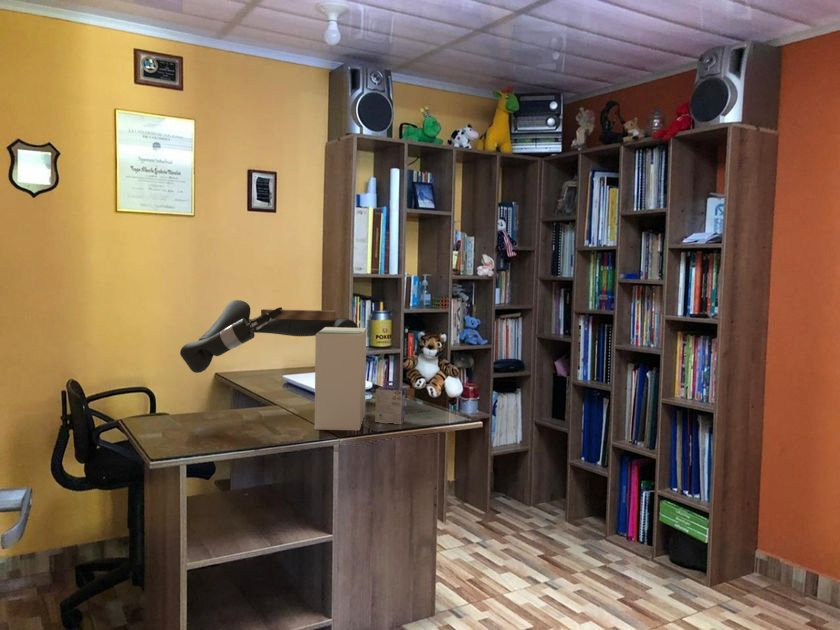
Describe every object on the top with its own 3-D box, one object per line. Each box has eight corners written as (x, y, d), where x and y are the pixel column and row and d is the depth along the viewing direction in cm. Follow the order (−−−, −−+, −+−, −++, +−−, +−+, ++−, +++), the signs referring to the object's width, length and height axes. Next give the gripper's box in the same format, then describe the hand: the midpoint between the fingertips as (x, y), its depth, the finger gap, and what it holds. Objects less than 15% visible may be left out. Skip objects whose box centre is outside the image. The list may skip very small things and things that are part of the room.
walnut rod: (261, 318, 235) (261, 309, 234) (263, 317, 238) (263, 309, 237) (335, 320, 235) (335, 311, 234) (336, 319, 238) (336, 310, 237)
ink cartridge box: (405, 421, 248) (406, 381, 246) (402, 425, 242) (402, 383, 241) (378, 419, 250) (379, 379, 248) (374, 423, 244) (375, 382, 243)
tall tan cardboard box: (314, 429, 233) (315, 333, 230) (324, 413, 257) (325, 326, 254) (359, 430, 233) (361, 334, 231) (364, 414, 257) (366, 327, 254)
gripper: (225, 326, 229) (271, 301, 229) (237, 322, 243) (280, 298, 243) (237, 346, 230) (282, 321, 229) (247, 341, 244) (290, 317, 243)
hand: (281, 310), depth 236 cm, fingers closed on walnut rod, 3 cm apart
